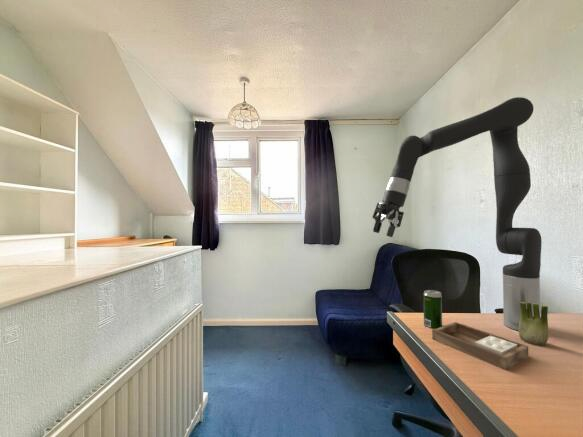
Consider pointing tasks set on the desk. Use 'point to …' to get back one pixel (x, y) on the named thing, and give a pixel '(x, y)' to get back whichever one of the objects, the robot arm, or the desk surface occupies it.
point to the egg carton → (496, 345)
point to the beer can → (432, 309)
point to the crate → (465, 342)
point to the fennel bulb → (533, 324)
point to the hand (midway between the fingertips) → (382, 234)
